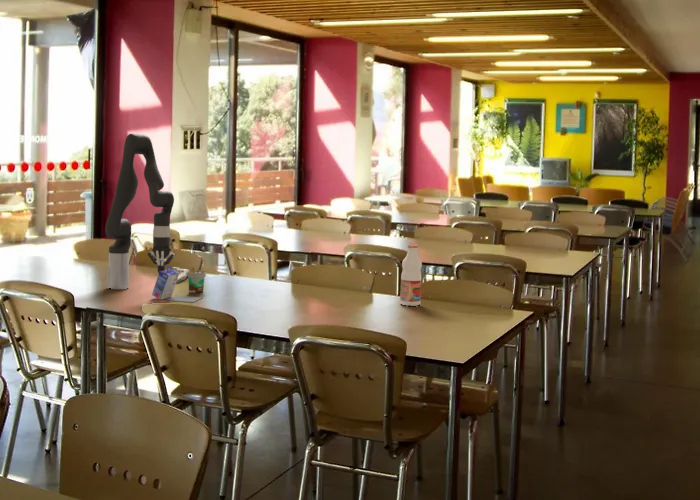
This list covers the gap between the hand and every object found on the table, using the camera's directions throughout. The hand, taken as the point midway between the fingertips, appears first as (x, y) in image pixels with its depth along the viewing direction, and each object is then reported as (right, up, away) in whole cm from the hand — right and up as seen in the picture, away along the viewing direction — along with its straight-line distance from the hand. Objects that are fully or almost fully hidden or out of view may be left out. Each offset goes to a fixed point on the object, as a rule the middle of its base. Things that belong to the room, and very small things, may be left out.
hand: (161, 273), depth 408 cm
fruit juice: (+113, -15, +9) cm, 114 cm away
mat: (+10, -12, +1) cm, 16 cm away
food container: (+14, -10, +19) cm, 26 cm away
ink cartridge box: (0, -10, +1) cm, 10 cm away
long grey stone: (-4, -5, +60) cm, 60 cm away
